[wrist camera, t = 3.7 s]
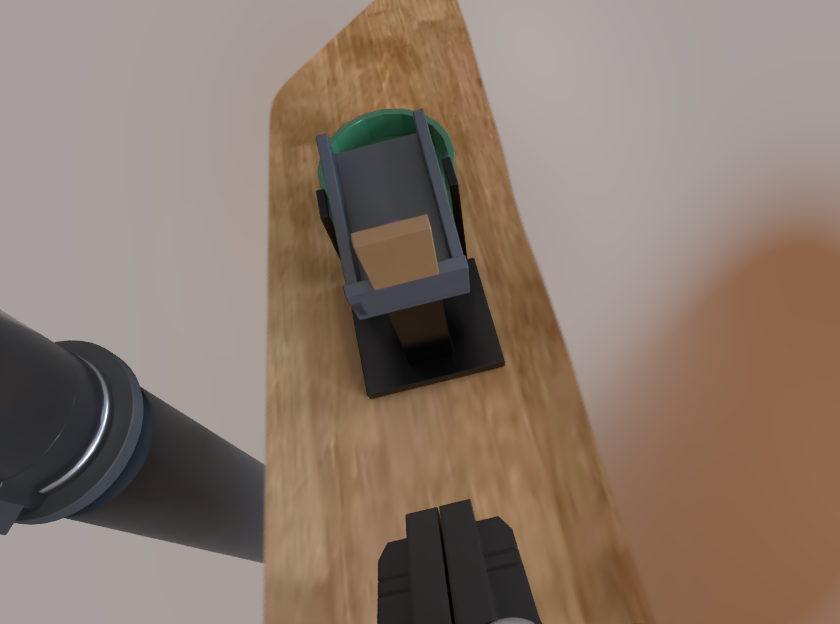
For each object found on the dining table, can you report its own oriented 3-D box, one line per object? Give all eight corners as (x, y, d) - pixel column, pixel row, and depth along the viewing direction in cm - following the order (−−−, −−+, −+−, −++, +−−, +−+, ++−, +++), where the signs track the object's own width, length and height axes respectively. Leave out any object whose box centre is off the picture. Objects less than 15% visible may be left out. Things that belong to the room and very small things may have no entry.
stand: (504, 366, 40) (503, 289, 31) (369, 399, 41) (327, 333, 31) (471, 251, 44) (460, 153, 35) (348, 282, 45) (305, 193, 35)
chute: (470, 292, 33) (465, 219, 25) (359, 320, 33) (319, 256, 25) (427, 135, 36) (410, 25, 28) (326, 160, 36) (281, 58, 28)
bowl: (430, 273, 44) (421, 234, 40) (315, 238, 47) (294, 197, 42) (478, 170, 47) (474, 124, 43) (367, 143, 50) (353, 96, 46)
